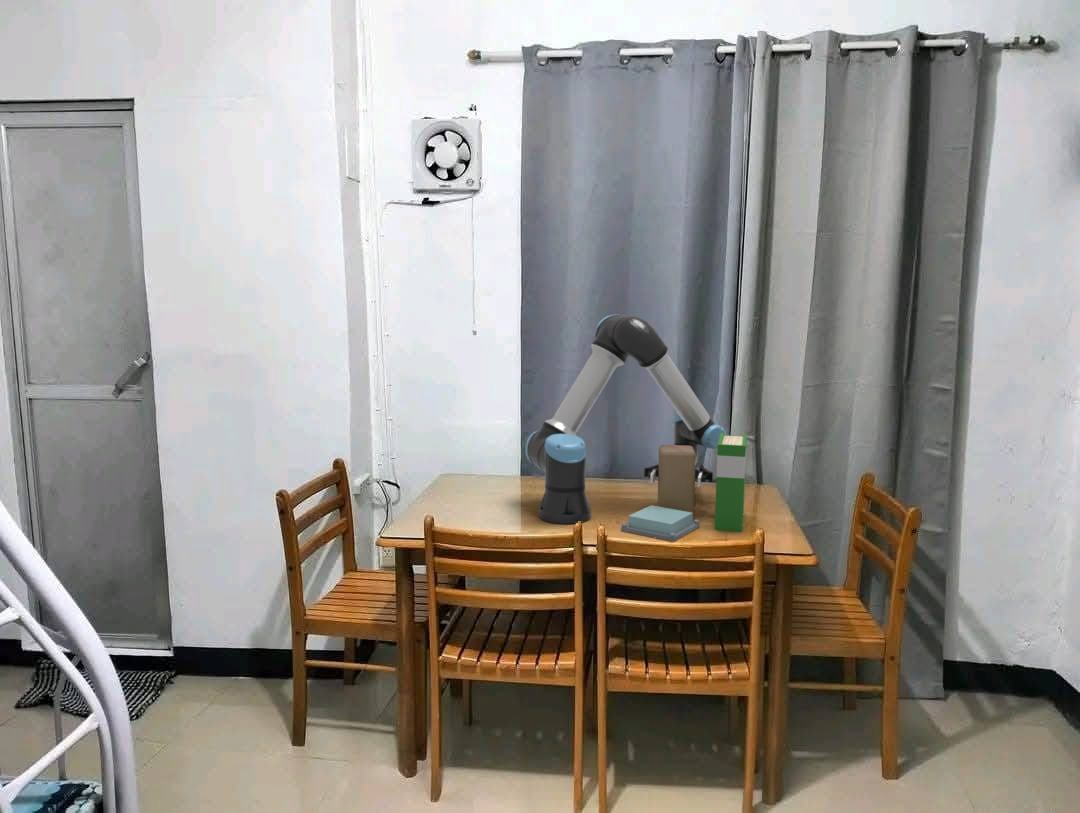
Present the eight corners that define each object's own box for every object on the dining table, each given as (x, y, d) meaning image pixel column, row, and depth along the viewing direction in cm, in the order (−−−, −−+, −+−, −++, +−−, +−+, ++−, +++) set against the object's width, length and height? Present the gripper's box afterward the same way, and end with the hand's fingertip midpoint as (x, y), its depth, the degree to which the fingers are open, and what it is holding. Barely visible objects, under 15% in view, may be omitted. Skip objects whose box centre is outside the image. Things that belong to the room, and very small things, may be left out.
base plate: (621, 530, 219) (621, 516, 219) (648, 517, 232) (649, 503, 231) (673, 542, 210) (674, 526, 209) (699, 527, 223) (700, 512, 222)
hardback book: (717, 511, 238) (720, 432, 234) (743, 513, 236) (746, 434, 232) (714, 529, 221) (717, 444, 217) (742, 531, 219) (745, 446, 215)
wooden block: (690, 510, 239) (693, 444, 236) (694, 520, 229) (696, 452, 226) (657, 509, 240) (658, 444, 237) (658, 519, 230) (660, 451, 227)
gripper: (722, 479, 248) (718, 496, 227) (642, 473, 254) (631, 490, 234) (723, 455, 246) (719, 470, 226) (643, 450, 253) (632, 465, 233)
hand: (675, 480), depth 230 cm, fingers open, 13 cm apart
